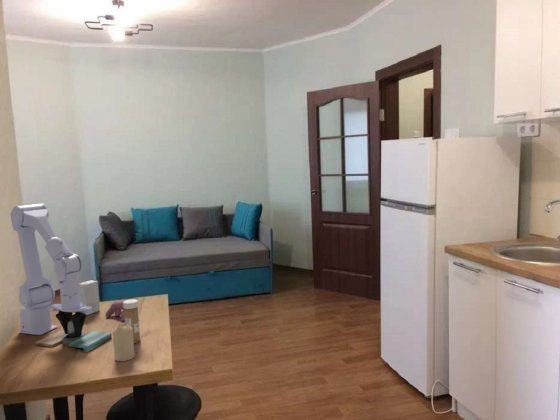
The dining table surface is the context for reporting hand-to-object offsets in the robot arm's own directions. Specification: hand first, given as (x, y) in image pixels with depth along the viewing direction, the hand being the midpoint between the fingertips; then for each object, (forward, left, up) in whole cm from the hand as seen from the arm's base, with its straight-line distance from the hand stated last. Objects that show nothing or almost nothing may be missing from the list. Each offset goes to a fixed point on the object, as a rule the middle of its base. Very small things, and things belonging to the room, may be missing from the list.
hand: (73, 333), depth 149 cm
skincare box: (-15, +25, -3) cm, 29 cm away
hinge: (0, 0, -3) cm, 3 cm away
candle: (+24, -6, -3) cm, 25 cm away
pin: (0, 0, -2) cm, 2 cm away
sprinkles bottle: (+19, +5, -3) cm, 20 cm away
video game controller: (0, +23, -3) cm, 23 cm away
